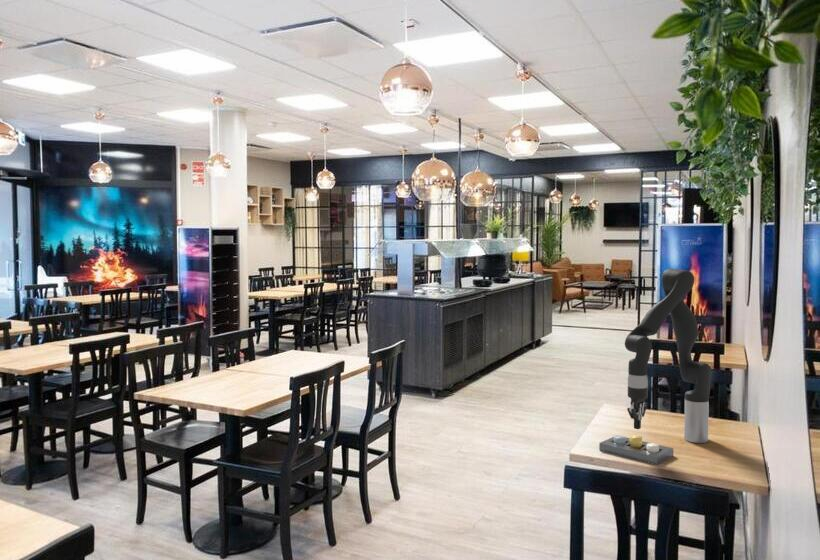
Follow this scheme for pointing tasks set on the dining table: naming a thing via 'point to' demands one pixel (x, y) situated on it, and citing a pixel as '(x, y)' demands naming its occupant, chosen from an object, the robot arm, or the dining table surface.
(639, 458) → the panel
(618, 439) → the button blue
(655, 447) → the button ivory
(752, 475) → the dining table surface
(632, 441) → the button mustard
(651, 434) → the dining table surface
